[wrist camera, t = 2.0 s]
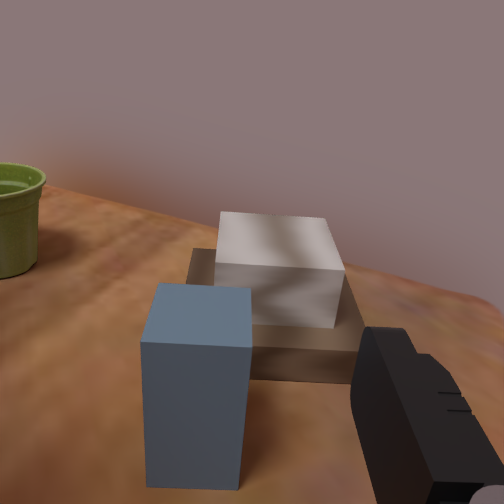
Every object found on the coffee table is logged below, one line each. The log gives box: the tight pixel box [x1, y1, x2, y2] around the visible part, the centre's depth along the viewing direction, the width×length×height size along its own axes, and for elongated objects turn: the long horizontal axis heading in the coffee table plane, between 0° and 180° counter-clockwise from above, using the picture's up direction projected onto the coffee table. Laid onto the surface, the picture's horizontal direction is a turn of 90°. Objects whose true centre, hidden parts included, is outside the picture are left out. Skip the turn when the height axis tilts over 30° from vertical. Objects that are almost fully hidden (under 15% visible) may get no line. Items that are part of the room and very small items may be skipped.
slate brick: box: [140, 283, 252, 490], centre depth 25 cm, size 5×5×10 cm
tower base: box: [186, 211, 365, 384], centre depth 37 cm, size 14×14×8 cm
